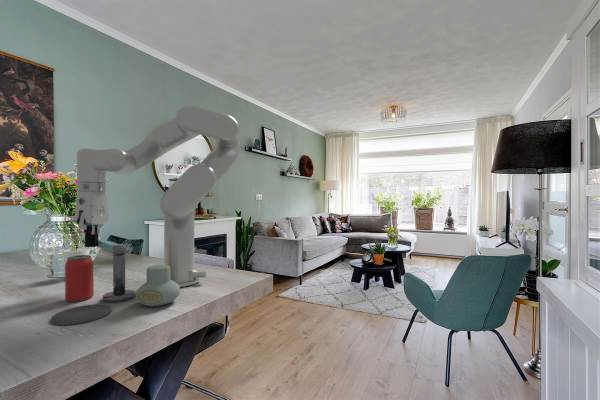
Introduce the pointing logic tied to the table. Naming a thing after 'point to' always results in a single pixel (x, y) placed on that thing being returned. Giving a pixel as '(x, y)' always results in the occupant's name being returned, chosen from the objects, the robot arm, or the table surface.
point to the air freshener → (158, 287)
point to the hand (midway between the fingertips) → (91, 246)
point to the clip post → (118, 282)
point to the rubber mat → (81, 314)
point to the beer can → (79, 278)
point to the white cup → (74, 254)
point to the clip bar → (112, 247)
